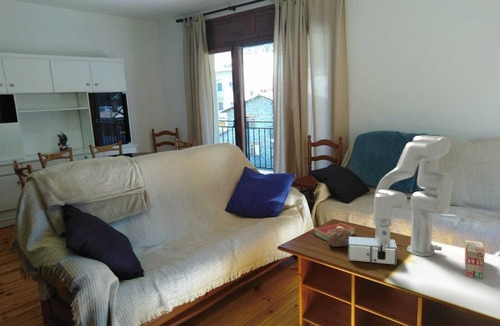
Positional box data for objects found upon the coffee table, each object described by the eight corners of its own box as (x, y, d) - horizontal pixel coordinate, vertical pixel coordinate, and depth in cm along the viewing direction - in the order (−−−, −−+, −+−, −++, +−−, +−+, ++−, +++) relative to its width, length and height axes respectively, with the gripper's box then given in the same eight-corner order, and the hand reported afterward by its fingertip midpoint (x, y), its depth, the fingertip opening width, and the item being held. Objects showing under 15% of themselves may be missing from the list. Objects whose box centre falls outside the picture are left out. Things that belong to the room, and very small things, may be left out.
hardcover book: (313, 235, 208) (314, 228, 207) (341, 228, 217) (341, 222, 216) (327, 241, 197) (327, 234, 196) (354, 234, 206) (355, 228, 206)
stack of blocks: (464, 257, 172) (466, 234, 170) (479, 260, 169) (481, 236, 167) (465, 276, 154) (467, 249, 152) (482, 279, 150) (485, 252, 149)
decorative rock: (351, 242, 194) (352, 225, 192) (350, 250, 183) (350, 232, 182) (328, 240, 198) (328, 223, 196) (325, 248, 188) (325, 230, 186)
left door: (396, 264, 166) (397, 248, 165) (397, 266, 164) (397, 250, 162) (372, 261, 169) (372, 246, 168) (372, 264, 167) (372, 248, 165)
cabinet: (393, 255, 176) (394, 239, 175) (397, 266, 165) (397, 249, 163) (348, 252, 182) (348, 236, 180) (348, 261, 170) (349, 245, 169)
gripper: (395, 226, 149) (393, 266, 152) (387, 215, 163) (386, 252, 166) (376, 226, 150) (375, 265, 153) (371, 215, 165) (370, 251, 168)
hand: (381, 258), depth 160 cm, fingers closed
